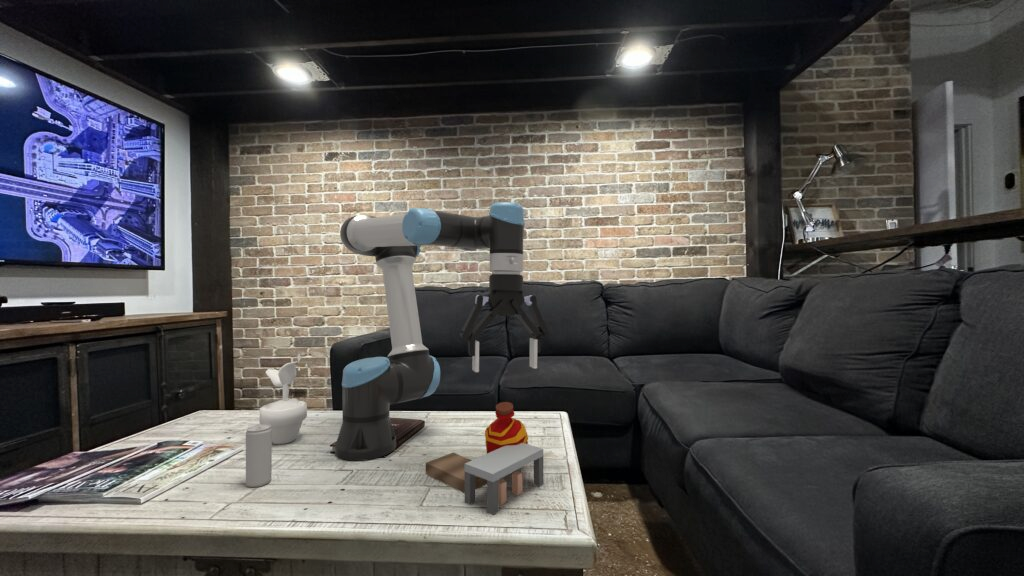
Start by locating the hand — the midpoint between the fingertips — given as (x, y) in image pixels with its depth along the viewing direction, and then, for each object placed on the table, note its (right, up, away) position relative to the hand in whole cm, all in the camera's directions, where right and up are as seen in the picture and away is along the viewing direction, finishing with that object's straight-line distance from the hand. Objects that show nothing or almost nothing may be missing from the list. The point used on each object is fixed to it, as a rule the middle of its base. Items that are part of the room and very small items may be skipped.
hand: (505, 369), depth 92 cm
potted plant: (-63, -25, +24) cm, 71 cm away
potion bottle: (+1, -23, +5) cm, 24 cm away
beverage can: (-53, -24, -2) cm, 59 cm away
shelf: (0, -24, -7) cm, 25 cm away
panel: (-10, -24, 0) cm, 26 cm away
